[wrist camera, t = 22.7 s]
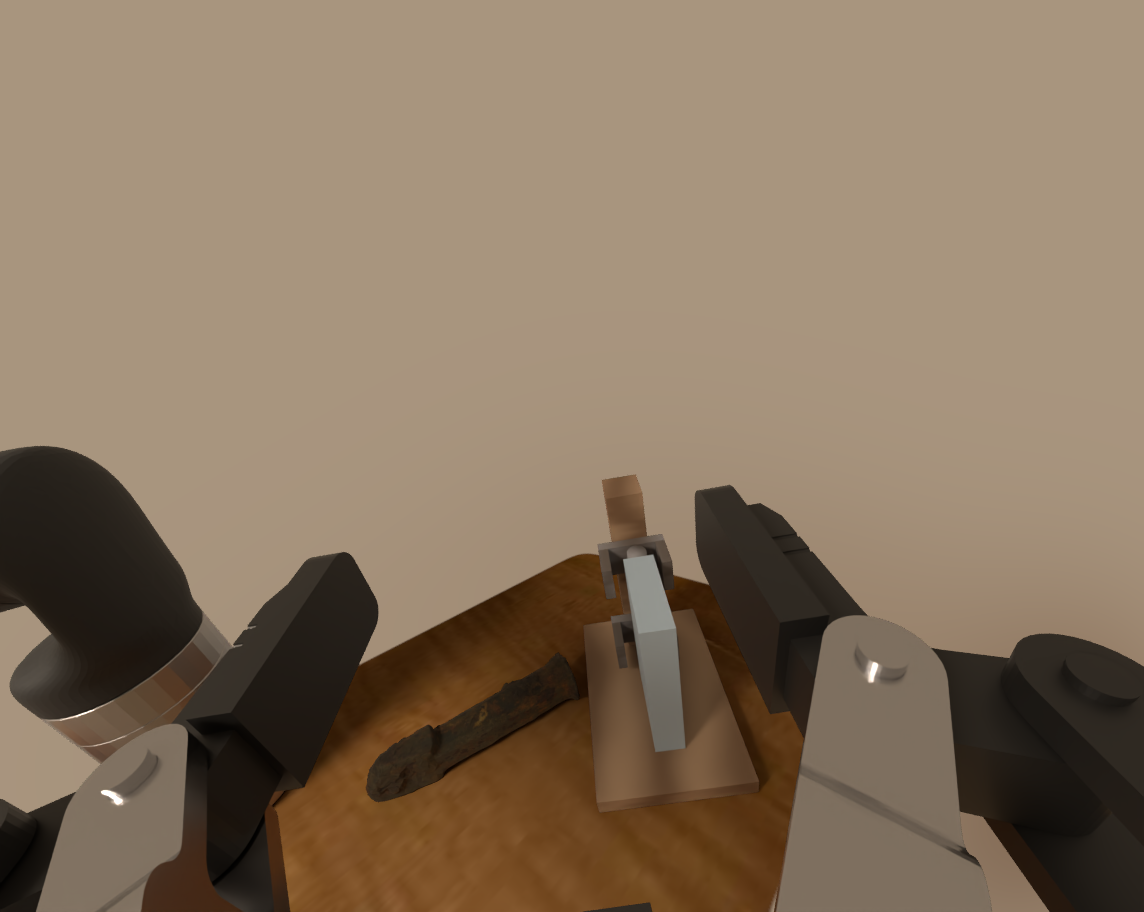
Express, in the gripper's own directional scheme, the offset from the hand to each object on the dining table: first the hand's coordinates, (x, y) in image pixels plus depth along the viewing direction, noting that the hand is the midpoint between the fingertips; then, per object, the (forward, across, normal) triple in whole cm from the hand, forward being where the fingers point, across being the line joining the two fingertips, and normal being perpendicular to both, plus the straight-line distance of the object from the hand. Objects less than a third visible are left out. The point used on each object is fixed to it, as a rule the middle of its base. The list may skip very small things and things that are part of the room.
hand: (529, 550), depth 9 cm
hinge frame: (+15, +4, -32) cm, 36 cm away
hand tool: (+13, -12, -33) cm, 37 cm away
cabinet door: (+13, +4, -31) cm, 34 cm away
